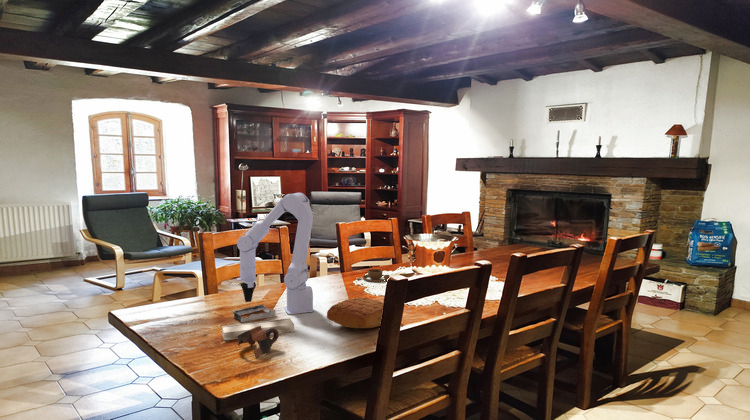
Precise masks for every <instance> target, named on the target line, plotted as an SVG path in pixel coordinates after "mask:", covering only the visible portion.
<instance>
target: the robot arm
mask: <svg viewBox="0 0 750 420" xmlns="http://www.w3.org/2000/svg"><path fill="white" fill-rule="evenodd" d="M286 212H288V213H290V214H292V215H293V216H294V218H295V219H297V227H296V232H295V240H294V245H293V252H292V257H291V262H290V265H289V266H288V268H287V273H286V274H285V275H284V278H283V282H284V285H285V287H286V306H284V307H283V309H284V311H285V313H287V315H295V314H296V315H297V314H304V313H305V314H306V313H313V312H314V293H313V288H312V286H310V285H309V286H307V281H308V280H309V272H308V268H309V266H308V264H307V258H308V253H309V252H308V251H309V247H310V240H311V234H312V228H313V223H314V222H313V221H314V213H313V211H312V208H311V205H310V199H309V198H308V197H307V196H306V195H305V194H304V193H303V192H295V193H287V194H285V195H284V196H283V198H281V199H279V200H278V202H277V203H276V205H275V206H274V207H273V208H272V209H271V211H270V212H268V214H267V215H266V216H265V217H264V219H263V220H257V221H254V222H253V223H252V225H253V226H252V227H251V228H250V229H249V230H247V231H246V232H244V234H245V235H242V236H239V237H238V239H237V242H236V246H237V248H238V250H239V277H237V278H236V281H237V282H240V283H239V285H240V286H241V289H242V294H243V298H244V302H245V303H251V302H252V300H253V294H254V292H255V289H256V286H257V283H256V280H257V276H256V275H257V274H256V273H257V272H256V269H257V268H256V252H257V251H256V249H257V248H258V246H259V243H260V242H261V241H262V240H263V239H264V238H265V236H267V235H268V233H269V232H270V226H271V225H273V223H275V221H277V220H278V219H279V218H280V217H281V216H282V215H283V214H284V213H286Z"/></svg>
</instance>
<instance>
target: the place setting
mask: <svg viewBox="0 0 750 420" xmlns="http://www.w3.org/2000/svg"><path fill="white" fill-rule="evenodd" d="M382 276H384V278H383V279H382ZM361 277H362V278H361ZM361 277H358V278H356V280H357V281H361V280H363V281H365V282H368V283H382V282H381V281H384V280H385V281H384V282H385V283H386V282H387V279H388V278H389V277H391V276H390V275H389V274H383V270H382V269H377V268H371V269H368V270H367V274H365V275H363V276H361ZM368 278H369V279H368Z"/></svg>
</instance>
